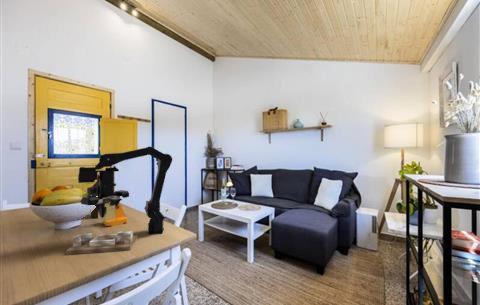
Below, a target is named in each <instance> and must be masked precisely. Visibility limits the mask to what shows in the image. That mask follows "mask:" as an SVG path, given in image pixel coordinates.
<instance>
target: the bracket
mask: <svg viewBox="0 0 480 305" xmlns="http://www.w3.org/2000/svg"><path fill="white" fill-rule="evenodd" d="M128 222H129V218H128V216H126V214H125V211H124V209H123V206H122V204H121V202H119V204H118V205H117V207H116V209H115V218H114V219H111V220H107V221H106V220H102V223H103V224H104V226H106V227H109V226H111V227H116V226H121V225H124V223H128Z"/></svg>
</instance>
